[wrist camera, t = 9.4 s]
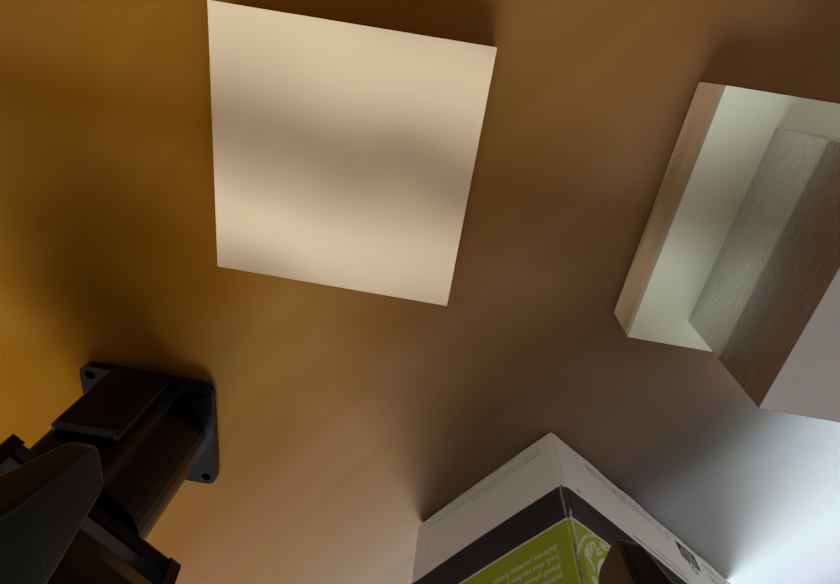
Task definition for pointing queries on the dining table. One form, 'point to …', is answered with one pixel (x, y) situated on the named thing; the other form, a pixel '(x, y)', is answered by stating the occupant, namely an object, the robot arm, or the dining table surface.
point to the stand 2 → (705, 202)
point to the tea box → (544, 527)
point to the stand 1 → (342, 149)
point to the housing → (782, 281)
